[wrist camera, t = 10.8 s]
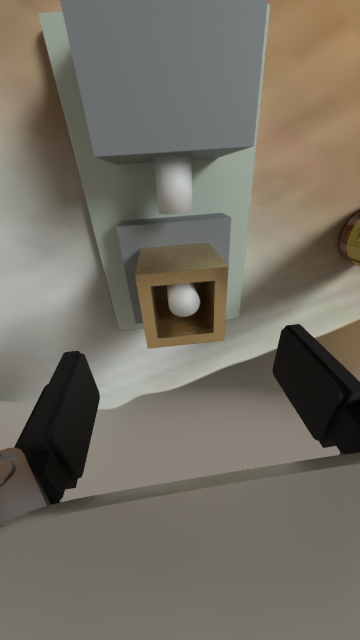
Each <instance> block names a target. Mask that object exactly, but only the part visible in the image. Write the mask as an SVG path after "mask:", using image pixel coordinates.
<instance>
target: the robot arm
mask: <svg viewBox="0 0 360 640" xmlns="http://www.w3.org/2000/svg"><path fill="white" fill-rule="evenodd" d="M273 374H274V377H275V378H276V380H277V381H278V383H279V384H280V386H281V388H282V389H283V391H284V392H285V394H286V396H287V397H288V398H289V400H290V402H291V403H292V405H293V407H294V408H295V409H296V411H297V413H298V414H299V416H300V418H301V419H302V420H303V422H304V424H305V425H306V427H307V429H308V430H309V432H310V433H311V435H312V436H313V438H314V439H315V440H319V442H320V444H321V445H322V447H323V448H326V447H332V446H337V447H338V449H339V450H340V455H338V456H330V457H323V458H317V459H310V460H304V461H297V462H291V463H285V464H278V465H272V466H266V467H260V468H254V469H247V470H241V471H235V472H229V473H223V474H217V475H211V476H205V477H198V478H193V479H186V480H181V481H174V482H169V483H163V484H157V485H151V486H145V487H139V488H134V489H127V490H122V491H116V492H110V493H105V494H100V495H94V496H89V497H84V498H78V499H73V500H70V501H65V502H62V500H61V498H62V497H63V495H64V491H65V489H71V488H76V484H77V480H78V478H81V477H82V475H83V471H84V467H85V462H86V457H87V453H88V449H89V444H90V439H91V435H92V431H93V426H94V422H95V418H96V413H97V409H98V404H99V399H100V395H99V391H98V388H97V386H96V383H95V381H94V378H93V375H92V373H91V370H90V368H89V365H88V362H87V360H86V357H85V355H84V354H83V353H82V354H81V353H80V352H79V351H72V352H65V353H64V354H63V356H62V358H61V360H60V362H59V364H58V366H57V368H56V370H55V372H54V374H53V376H52V378H51V380H50V382H49V384H48V385H46V386H45V388H44V389H43V391H42V393H41V395H40V397H39V399H38V401H37V403H36V405H35V407H34V409H33V411H32V413H31V415H30V417H29V419H28V421H27V423H26V425H25V427H24V429H23V431H22V433H21V435H20V437H19V439H18V441H17V443H16V445H15V447H14V448H7V449H4V450H1V451H0V640H360V382H359V381H358V380H357V379H356V378H355V377H354V376H353V375H352V374H351V373H350V372H349V371H348V370H347V369H346V368H345V367H344V366H343V365H342V364H341V363H340V362H339V361H337V360H336V359H335V358H334V357H333V356H332V355H331V354H330V353H329V352H328V351H327V350H326V349H325V348H324V347H323V346H322V345H321V344H320V343H318V341H317V340H316V339H315V338H314V337H313V336H311V335H310V334H309V333H308V332H307V331H306V330H305V329H304V328H303V327H302V326H301V325H300V324H295V325H287V326H285V328H284V329H282V331H281V335H280V339H279V344H278V348H277V352H276V357H275V361H274V365H273Z"/></svg>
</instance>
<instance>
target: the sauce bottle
mask: <svg viewBox="0 0 360 640" xmlns="http://www.w3.org/2000/svg"><path fill="white" fill-rule="evenodd" d="M340 249H341V253H342V256H343V257H345V258H346V259H347V260H349V261H352V262H353V263H354V264H356V265H357V266H360V211H358V212H357V213H356V214H355V215H354V216H353V217H352V218H351V219H350V220H349V222H348V223H347V225H346V226H345V228H344V229H343V231H342V233H341V235H340Z"/></svg>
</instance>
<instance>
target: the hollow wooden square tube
mask: <svg viewBox="0 0 360 640" xmlns="http://www.w3.org/2000/svg"><path fill="white" fill-rule="evenodd" d="M228 270H229V267H228V265H227V264H226V263H225V262H224V261H223V259H222V258H221V257H220V256H219V255H218V253H217V252H216V251H215V250H214V249H213V247H212V246H211V245H210V244H209V243H197V244H185V245H173V246H161V247H149V248H140V253H139V258H138V263H137V267H136V272H135V279H136V284H137V290H138V296H139V301H140V307H141V313H142V318H143V324H144V330H145V336H146V341H147V347H148V348H158V347H167V346H177V345H187V344H196V343H206V342H215V341H224V333H225V317H226V301H227V285H228ZM194 282H199V299H200V305H199V308H198V310H197V311H196V312H195V313H194V314H192V315H190V316H186V317H180V316H177V315H175V314H173V313H172V312H171V310H170V308H169V304H168V299H159V300H157V296H156V288H155V286H161V285H172V284H183V283H194Z"/></svg>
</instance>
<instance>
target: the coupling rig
mask: <svg viewBox="0 0 360 640" xmlns="http://www.w3.org/2000/svg"><path fill="white" fill-rule="evenodd" d="M60 3H61V7H62V12H56V13H38V15H39V19H40V23H41V27H42V31H43V35H44V39H45V43H46V46H47V50H48V54H49V58H50V62H51V66H52V70H53V74H54V78H55V82H56V86H57V89H58V93H59V97H60V101H61V105H62V109H63V113H64V117H65V121H66V125H67V128H68V132H69V136H70V140H71V144H72V148H73V152H74V156H75V160H76V164H77V167H78V171H79V175H80V179H81V183H82V187H83V191H84V195H85V199H86V203H87V207H88V210H89V214H90V218H91V222H92V226H93V230H94V234H95V238H96V242H97V246H98V249H99V253H100V257H101V261H102V265H103V269H104V273H105V277H106V281H107V285H108V288H109V292H110V296H111V300H112V304H113V308H114V312H115V316H116V320H117V324H118V328H119V331H123V330H132V329H142V328H144V324H143V318H142V313H141V307H140V301H139V296H138V290H137V284H136V279H135V272H136V267H137V263H138V258H139V253H140V248H149V247H161V246H173V245H185V244H197V243H209V244H210V245H211V246H212V247H213V249H214V250H215V251H216V252H217V253H218V255H219V256H220V257H221V258H222V259H223V261H224V262H225V263H226V264H227V265H228V267H229V270H228V285H227V301H226V317H225V320H229V319H239V314H240V304H241V294H242V284H243V273H244V263H245V253H246V243H247V233H248V223H249V213H250V203H251V193H252V182H253V172H254V162H255V152H256V142H257V132H258V122H259V112H260V102H261V91H262V81H263V71H264V61H265V51H266V41H267V31H268V21H269V11H270V5H267V3H268V0H60ZM155 288H156V296H157V300H159V299H168V304H169V308H170V310H171V312H172V313H173V314H175V315H177V316H180V317H186V316H190V315H192V314H194V313H195V312H196V311H197V310H198V308H199V305H200V299H199V282H194V283H183V284H172V285H161V286H155Z"/></svg>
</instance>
